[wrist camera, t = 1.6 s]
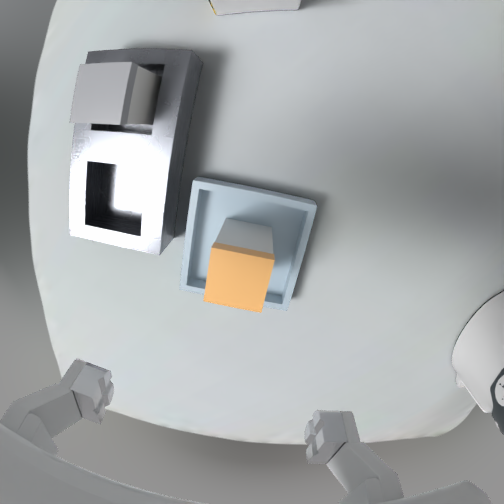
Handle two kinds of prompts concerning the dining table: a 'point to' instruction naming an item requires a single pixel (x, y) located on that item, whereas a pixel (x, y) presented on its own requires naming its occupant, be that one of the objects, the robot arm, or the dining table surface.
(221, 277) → the plug
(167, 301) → the dining table surface
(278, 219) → the tray
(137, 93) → the grey rectangular block
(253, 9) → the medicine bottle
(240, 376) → the dining table surface
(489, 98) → the dining table surface
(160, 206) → the square-holed metal block
